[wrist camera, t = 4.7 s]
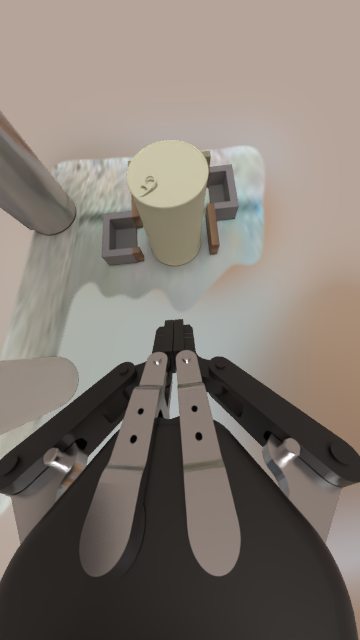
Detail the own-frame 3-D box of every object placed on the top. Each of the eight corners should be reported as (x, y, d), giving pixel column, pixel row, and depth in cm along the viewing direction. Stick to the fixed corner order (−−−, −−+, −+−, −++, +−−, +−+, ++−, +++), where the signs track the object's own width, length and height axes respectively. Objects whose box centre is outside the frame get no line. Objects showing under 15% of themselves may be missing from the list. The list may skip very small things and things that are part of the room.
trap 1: (212, 220, 28) (214, 208, 26) (207, 181, 30) (209, 167, 27) (234, 218, 28) (238, 206, 25) (228, 179, 30) (231, 164, 27)
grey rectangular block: (140, 243, 28) (106, 169, 16) (176, 212, 29) (168, 120, 17) (174, 275, 27) (163, 219, 15) (211, 242, 27) (228, 163, 16)
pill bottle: (34, 359, 25) (-180, 378, 11) (80, 353, 25) (-74, 362, 10) (32, 410, 24) (-218, 513, 9) (81, 404, 24) (-96, 499, 9)
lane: (137, 261, 28) (129, 247, 24) (135, 185, 31) (128, 161, 27) (216, 253, 27) (221, 237, 23) (206, 176, 30) (209, 150, 26)
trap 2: (109, 265, 28) (102, 257, 25) (110, 225, 29) (103, 214, 27) (137, 262, 27) (132, 254, 25) (136, 222, 29) (131, 211, 26)
